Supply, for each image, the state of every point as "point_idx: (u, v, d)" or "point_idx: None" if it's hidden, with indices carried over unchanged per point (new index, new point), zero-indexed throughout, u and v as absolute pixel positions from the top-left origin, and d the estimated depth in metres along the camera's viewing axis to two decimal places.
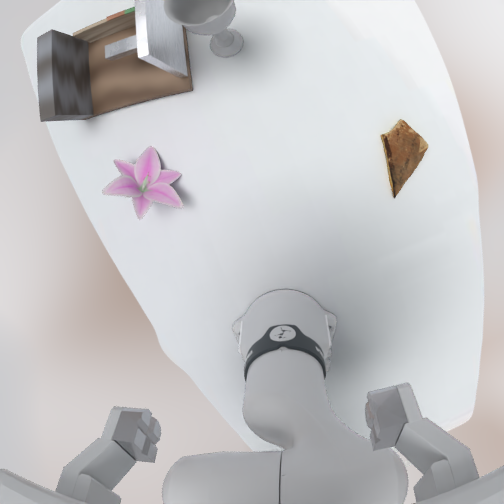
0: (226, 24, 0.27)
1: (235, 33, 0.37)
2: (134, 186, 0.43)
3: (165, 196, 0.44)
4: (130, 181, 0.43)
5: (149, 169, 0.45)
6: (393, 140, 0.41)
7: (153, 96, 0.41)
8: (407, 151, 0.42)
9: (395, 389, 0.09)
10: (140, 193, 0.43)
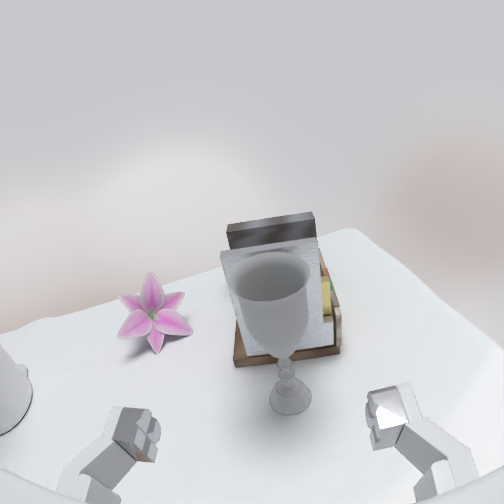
0: (251, 330, 0.26)
1: (297, 401, 0.32)
2: (152, 304, 0.47)
3: (132, 325, 0.44)
4: (157, 301, 0.48)
5: (167, 323, 0.47)
6: None
7: (236, 330, 0.45)
8: None
9: (395, 389, 0.09)
10: (145, 308, 0.47)
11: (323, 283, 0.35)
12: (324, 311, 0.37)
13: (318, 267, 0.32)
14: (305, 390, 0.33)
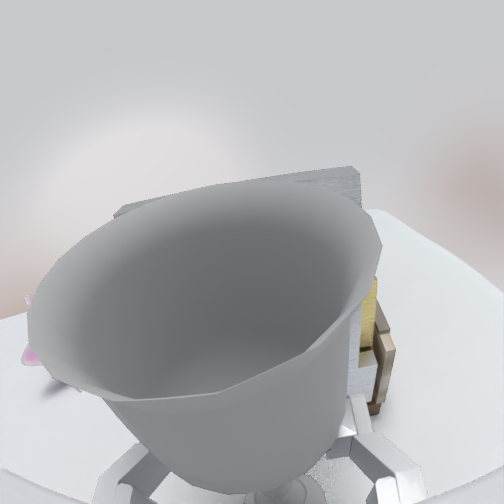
0: None
1: None
2: None
3: None
4: None
5: None
6: None
7: None
8: None
9: (348, 399, 0.09)
10: None
11: None
12: None
13: None
14: (314, 499, 0.13)
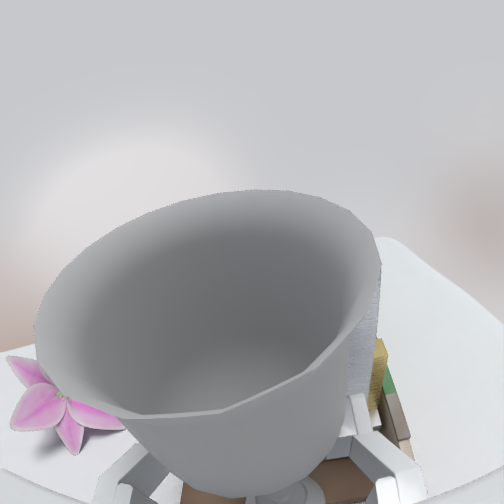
0: None
1: None
2: None
3: (31, 411, 0.19)
4: None
5: (86, 409, 0.23)
6: None
7: None
8: None
9: (348, 399, 0.09)
10: (52, 381, 0.23)
11: (373, 360, 0.14)
12: None
13: (372, 333, 0.11)
14: (314, 499, 0.13)
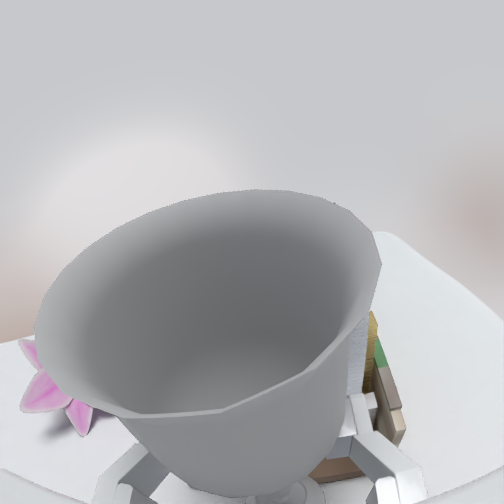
0: None
1: None
2: None
3: (41, 393, 0.21)
4: None
5: None
6: None
7: None
8: None
9: (348, 399, 0.09)
10: None
11: None
12: None
13: None
14: (314, 499, 0.13)
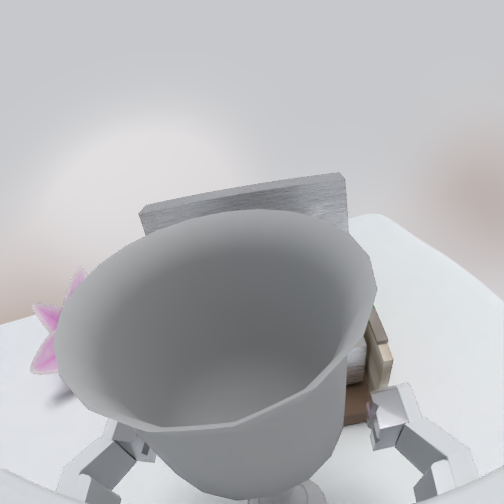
0: None
1: None
2: None
3: (52, 354, 0.24)
4: None
5: None
6: None
7: None
8: None
9: (395, 389, 0.09)
10: None
11: None
12: None
13: None
14: (315, 502, 0.14)
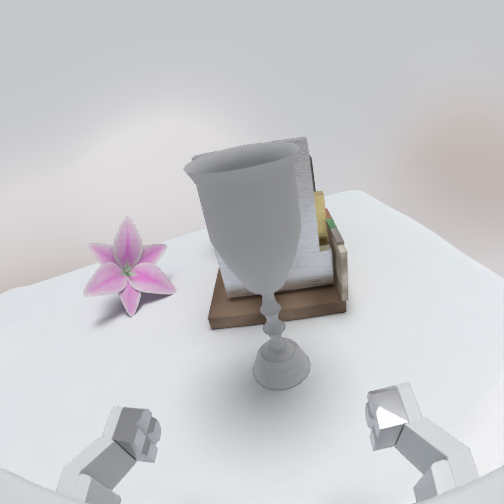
0: (215, 240, 0.18)
1: (289, 369, 0.24)
2: (128, 257, 0.39)
3: (103, 280, 0.35)
4: (134, 253, 0.39)
5: (144, 280, 0.39)
6: None
7: (216, 285, 0.37)
8: None
9: (396, 389, 0.09)
10: (119, 262, 0.39)
11: (316, 197, 0.30)
12: (319, 235, 0.32)
13: (309, 172, 0.26)
14: (301, 355, 0.25)
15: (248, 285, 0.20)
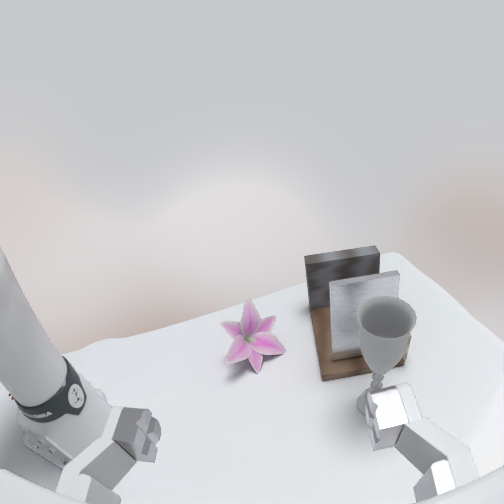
0: (369, 356, 0.33)
1: None
2: (250, 329, 0.53)
3: (237, 350, 0.50)
4: (254, 326, 0.54)
5: (264, 345, 0.53)
6: None
7: (319, 349, 0.51)
8: None
9: (395, 389, 0.09)
10: (243, 333, 0.53)
11: None
12: None
13: (397, 292, 0.41)
14: None
15: (376, 371, 0.35)
